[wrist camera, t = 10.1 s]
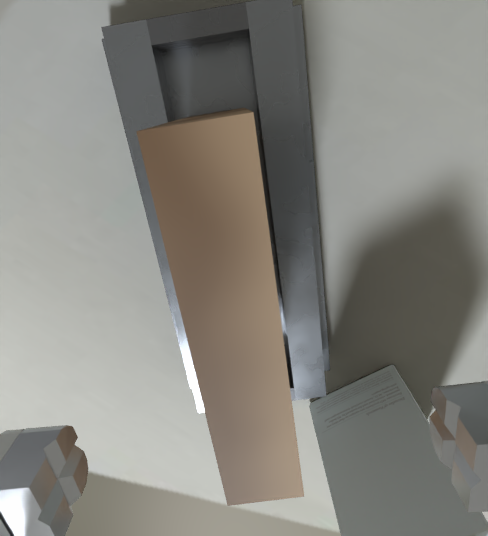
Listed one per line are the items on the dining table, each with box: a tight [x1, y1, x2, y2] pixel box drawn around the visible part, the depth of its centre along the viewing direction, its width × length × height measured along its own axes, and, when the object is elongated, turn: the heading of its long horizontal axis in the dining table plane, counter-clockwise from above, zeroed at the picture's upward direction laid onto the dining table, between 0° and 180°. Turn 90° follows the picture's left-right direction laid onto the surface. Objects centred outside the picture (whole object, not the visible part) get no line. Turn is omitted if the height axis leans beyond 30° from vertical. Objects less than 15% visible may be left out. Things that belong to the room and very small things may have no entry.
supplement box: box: [309, 365, 488, 536], centre depth 25 cm, size 7×7×13 cm
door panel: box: [136, 108, 304, 506], centre depth 18 cm, size 3×14×12 cm, turn 9°
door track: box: [101, 0, 330, 413], centre depth 23 cm, size 10×22×4 cm, turn 9°
